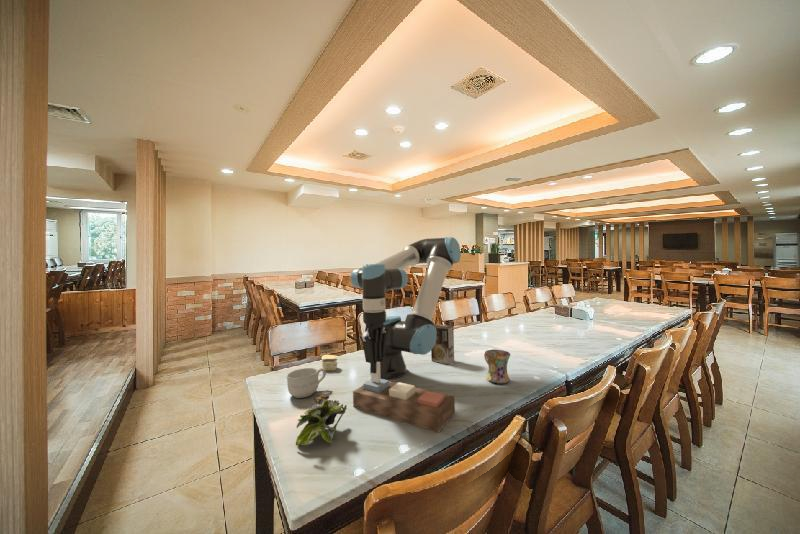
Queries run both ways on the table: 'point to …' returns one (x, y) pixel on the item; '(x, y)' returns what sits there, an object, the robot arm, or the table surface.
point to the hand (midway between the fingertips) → (375, 381)
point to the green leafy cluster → (319, 420)
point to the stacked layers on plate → (329, 362)
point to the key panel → (405, 407)
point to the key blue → (376, 386)
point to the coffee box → (443, 345)
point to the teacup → (304, 381)
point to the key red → (431, 399)
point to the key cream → (402, 391)
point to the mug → (497, 365)
